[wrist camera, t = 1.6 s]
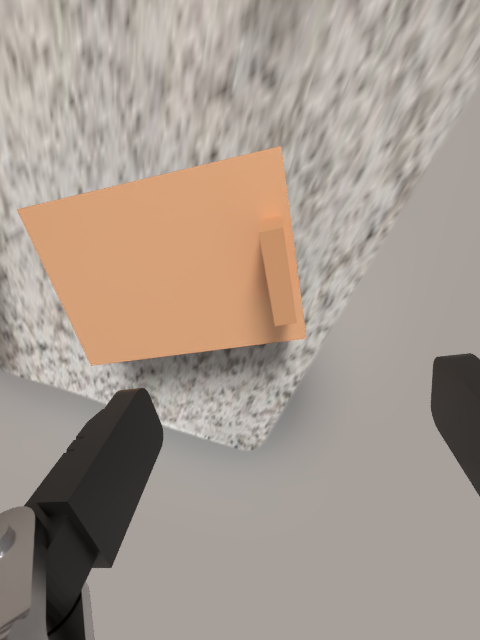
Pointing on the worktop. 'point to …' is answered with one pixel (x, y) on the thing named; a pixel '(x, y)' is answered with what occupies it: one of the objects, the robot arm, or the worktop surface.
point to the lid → (175, 260)
